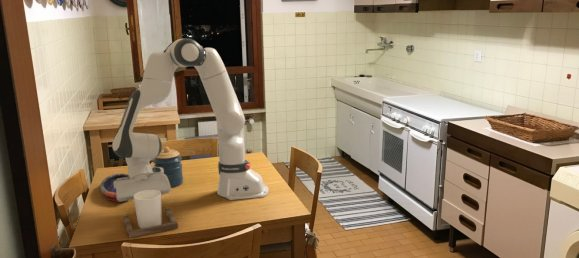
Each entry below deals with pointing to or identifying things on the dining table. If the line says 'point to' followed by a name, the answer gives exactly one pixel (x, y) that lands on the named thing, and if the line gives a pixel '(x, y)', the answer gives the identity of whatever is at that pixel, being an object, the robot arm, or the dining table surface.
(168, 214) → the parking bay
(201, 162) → the dining table surface
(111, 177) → the dish
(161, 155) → the canister
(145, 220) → the candle holder
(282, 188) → the dining table surface
